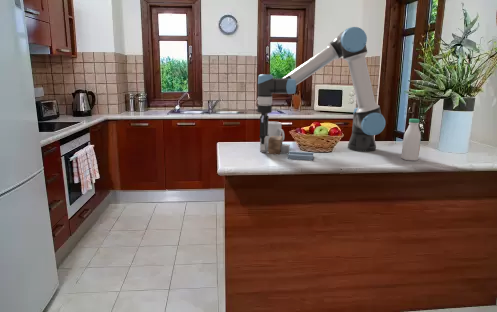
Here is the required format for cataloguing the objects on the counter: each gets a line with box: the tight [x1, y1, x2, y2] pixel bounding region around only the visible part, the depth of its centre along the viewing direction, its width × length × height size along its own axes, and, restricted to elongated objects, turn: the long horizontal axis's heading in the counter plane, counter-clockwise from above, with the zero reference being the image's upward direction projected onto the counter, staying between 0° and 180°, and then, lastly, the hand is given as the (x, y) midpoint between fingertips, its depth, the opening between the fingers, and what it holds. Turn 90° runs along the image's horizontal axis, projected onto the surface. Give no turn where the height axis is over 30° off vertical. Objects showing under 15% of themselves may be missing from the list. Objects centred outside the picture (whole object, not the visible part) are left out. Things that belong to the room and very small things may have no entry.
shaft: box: [259, 143, 291, 154], centre depth 187 cm, size 15×4×4 cm, turn 76°
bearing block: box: [267, 135, 284, 155], centre depth 187 cm, size 6×12×8 cm, turn 168°
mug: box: [267, 120, 285, 143], centre depth 203 cm, size 15×11×13 cm
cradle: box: [287, 150, 314, 161], centre depth 175 cm, size 12×9×2 cm
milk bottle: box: [401, 118, 422, 162], centre depth 173 cm, size 8×8×20 cm
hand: (263, 148), depth 189 cm, fingers closed on shaft, 4 cm apart
